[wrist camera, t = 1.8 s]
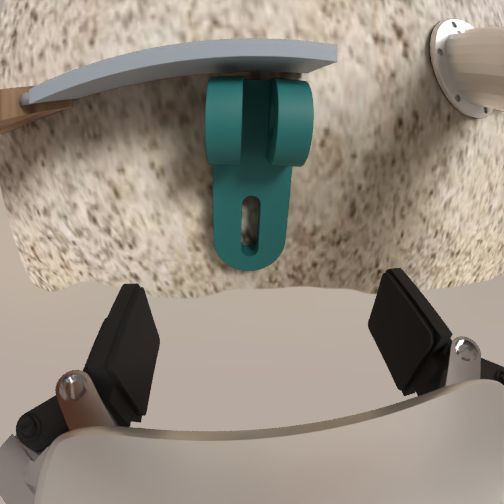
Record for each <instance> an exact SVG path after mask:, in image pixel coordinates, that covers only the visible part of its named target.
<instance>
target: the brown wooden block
mask: <svg viewBox="0 0 504 504" xmlns="http://www.w3.org/2000/svg"><path fill="white" fill-rule="evenodd" d="M33 87H35V86H30V87H18V88H9V89H1V90H0V134H3V133H6V132H10V131H12V130H14V129H16V128H19V127H21V126H23V125H25V124H28V123H30V122H33V121H35V120H37V119H40V118H42V117H45V116H48V115H50V114H53V113H56V112H59V111H61V110H64V109H67V108H70V107H72V99H70V100H60V101H51V102H43V103H36V104H29V105H23V106H21V105H20V103H19V98H20V96H21V94H23V93H28V92H29V89H31V88H33Z"/></svg>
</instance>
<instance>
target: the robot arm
mask: <svg viewBox="0 0 504 504" xmlns="http://www.w3.org/2000/svg"><path fill="white" fill-rule="evenodd" d="M430 55H431V61H432V66H433V69H434V73H435V75H436V78H437V80H438V83H439V85H440V87H441V89H442V91H443V93H444V94H445V95H446V97H447V98H448V100H449V101H450V102H451V103H452V105H453V106H454V107H455V108H456V109H458V110H459V111H460V112H461V113H463V114H465V115H467V116H471V117H475V118H483V117H486V116H488V115H489V114H490V113H491V112H492V111H493V110H494V109H496V110H500V111H504V27H487V28H474V27H473V26H471V25H470V24H468V23H467V22H465V21H463V20H460V19H446V20H443V21H441V22H439V23H438V24H437V25H436V26H435V28H434V29H433V32H432V35H431V40H430ZM368 327H369V330H370V332H371V334H372V336H373V338H374V340H375V342H376V344H377V346H378V348H379V350H380V352H381V354H382V356H383V358H384V360H385V362H386V364H387V367H388V369H389V371H390V373H391V375H392V377H393V379H394V382H395V384H396V386H397V388H398V389H399V390H402V393H403V395H404V396H406V395H410V394H413V393H415V392H416V393H417V395H418V396H417V397H415V398H412V399H409V400H406V401H403V402H400V403H396V404H393V405H390V406H386V407H383V408H379V409H376V410H372V411H368V412H364V413H360V414H356V415H351V416H347V417H343V418H337V419H333V420H328V421H322V422H316V423H310V424H303V425H296V426H289V427H281V428H271V429H260V430H246V431H245V430H244V431H217V432H216V431H215V432H214V431H213V432H210V431H209V432H208V431H207V432H205V431H172V430H155V429H144V428H131V427H129V426H130V423H131V421H133V422H141V418H142V415H146V411H147V405H148V401H149V395H150V390H151V384H152V379H153V374H154V369H155V364H156V359H157V354H158V350H159V344H160V339H159V335H158V332H157V329H156V326H155V323H154V320H153V317H152V314H151V310H150V307H149V304H148V300H147V297H146V294H145V290H144V288H143V287H140V286H139V285H138V284H123V286H122V287H121V289H120V291H119V294H118V296H117V298H116V300H115V302H114V304H113V306H112V308H111V311H110V313H109V315H108V317H107V318H106V319H105V320H104V322H103V324H102V326H101V328H100V330H99V333H98V335H97V337H96V340H95V342H94V345H93V347H92V349H91V352H90V354H89V357H88V359H87V362H86V364H85V367H84V369H83V371H80V370H72V371H69V372H67V373H66V374H64V375H63V376H62V377H61V378H60V379H59V380H58V382H57V385H56V389H55V391H56V396H54V397H52V398H51V399H49V400H47V401H46V402H44V403H42V404H40V405H39V406H37V407H35V408H34V409H32V410H30V411H28V412H27V413H25V414H24V415H22V416H21V417H20V419H19V420H18V422H17V425H16V436H14V435H13V434H12V435H11V436H10V437H9V438H8V439H7V440H6V441H5V443H4V444H3V445H2V446H1V447H0V495H1V497H2V498H3V500H4V501H5V503H6V504H504V367H502V366H500V365H497V364H495V363H492V362H490V361H487V360H485V359H483V358H481V352H480V349H479V347H478V346H477V344H476V343H475V342H474V341H473V340H471V339H469V338H467V337H457V338H455V339H454V340H453V341H452V340H451V339H450V338H451V336H452V333H451V331H450V330H449V328H448V327H447V326H446V324H445V323H444V322H443V320H442V319H441V317H440V316H439V315H438V313H437V312H436V311H435V310H434V308H433V307H432V306H431V304H430V303H429V302H428V300H427V299H426V298H425V297H424V295H423V294H422V293H421V292H420V290H419V289H418V288H417V287H416V285H415V284H414V283H413V282H412V281H411V279H410V278H409V277H408V276H407V275H406V273H405V272H404V271H403V270H402V269H401V268H394V269H388V270H387V271H386V272H385V273H384V274H383V275H382V278H381V282H380V285H379V289H378V292H377V296H376V299H375V302H374V306H373V309H372V312H371V315H370V319H369V321H368Z"/></svg>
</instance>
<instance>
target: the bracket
mask: <svg viewBox="0 0 504 504" xmlns="http://www.w3.org/2000/svg"><path fill="white" fill-rule="evenodd" d="M313 119H314V110H313V98H312V92H311V88H310V86H309V84H308V83H307V82H306V81H300V80H290V79H279V78H274V79H272V80H271V81H263V80H243V77H238V76H217V77H210V78H209V82H208V87H207V96H206V110H205V141H206V154H207V160H208V163H209V164H213V224H214V245H215V249H216V251H217V254H218V255H219V257H220V258H221V259H222V260H223V261H224V262H225V263H226V264H228V265H229V266H231V267H233V268H236V269H239V270H244V271H254V270H259V269H262V268H265V267H267V266H269V265H270V264H272V263H273V262H274V261H275V260H276V259H277V258H278V257H279V256H280V254H281V253H282V251H283V248H284V245H285V238H286V228H287V218H288V208H289V197H290V186H291V174H292V166H298V167H301V166H303V165H304V163H305V161H306V159H307V157H308V154H309V150H310V145H311V140H312V133H313ZM248 196H256V197H257V198H259V211H258V231H257V241H256V243H255V244H254V245H252V246H245V245H244V244H242V242H241V221H242V202H243V200H244V199H245V198H246V197H248Z"/></svg>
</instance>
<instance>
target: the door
mask: <svg viewBox="0 0 504 504" xmlns="http://www.w3.org/2000/svg"><path fill="white" fill-rule="evenodd" d="M335 62H337V45H334V44H327V43H319V42H310V41H300V40H287V39H258V38H249V39H220V40H207V41H197V42H188V43H180V44H173V45H167V46H161V47H156V48H151V49H146V50H141V51H136V52H132V53H128V54H124V55H120V56H116V57H113V58H109V59H106V60H102V61H99V62H96V63H93V64H90V65H87V66H84V67H81V68H78V69H75V70H73V71H70V72H67V73H65V74H62V75H60V76H57V77H55V78H52V79H50V80H48V81H46V82H43V83H41V84H39V85H37V86H35V87H33V88H31V89H29V92H28V93H23V94H21V96H20V98H19V103H20V105H21V106H23V105H29V104H36V103H43V102H51V101H60V100H70V99H79V98H82V97H85V96H89V95H92V94H96V93H99V92H103V91H107V90H111V89H115V88H119V87H123V86H127V85H132V84H137V83H142V82H147V81H153V80H159V79H165V78H172V77H179V76H187V75H196V74H207V73H222V72H249V71H266V72H294V73H309V72H312V71H314V70H317V69H319V68H322V67H324V66H327V65H330V64H332V63H335Z"/></svg>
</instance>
